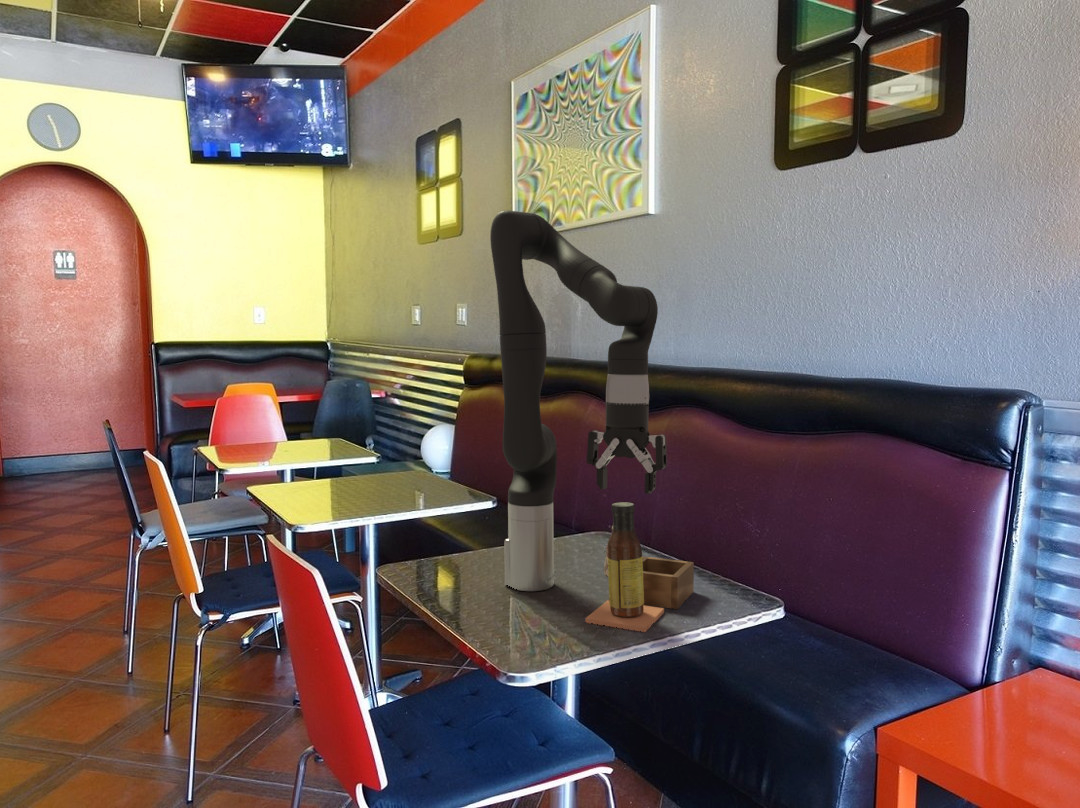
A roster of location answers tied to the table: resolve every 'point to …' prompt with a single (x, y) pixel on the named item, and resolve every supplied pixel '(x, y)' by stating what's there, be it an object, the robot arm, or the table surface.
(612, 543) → the sauce bottle
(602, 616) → the terracotta mat
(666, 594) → the square holder
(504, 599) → the table surface
